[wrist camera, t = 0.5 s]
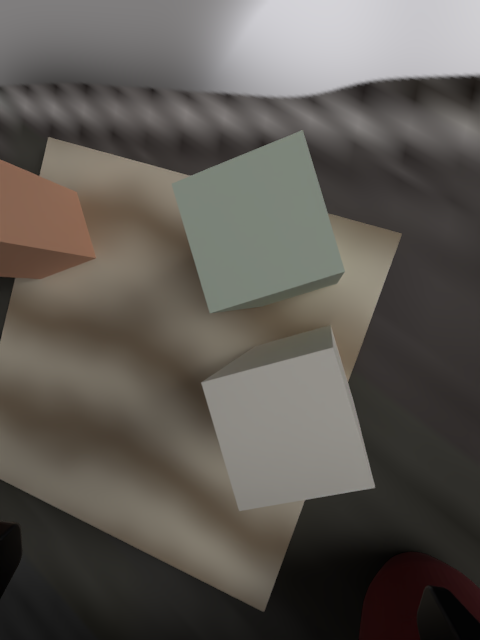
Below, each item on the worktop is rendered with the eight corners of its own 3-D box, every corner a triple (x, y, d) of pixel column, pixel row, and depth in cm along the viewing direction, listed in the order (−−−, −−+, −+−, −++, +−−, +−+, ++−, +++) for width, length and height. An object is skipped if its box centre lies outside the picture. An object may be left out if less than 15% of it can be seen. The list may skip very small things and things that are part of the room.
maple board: (266, 599, 24) (263, 612, 23) (-17, 458, 29) (-29, 464, 28) (398, 236, 21) (402, 233, 20) (59, 143, 26) (48, 137, 25)
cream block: (353, 401, 21) (375, 487, 12) (277, 418, 22) (239, 511, 13) (330, 324, 21) (333, 347, 12) (255, 345, 22) (201, 382, 13)
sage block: (336, 283, 21) (345, 271, 11) (261, 306, 22) (209, 313, 12) (314, 207, 21) (302, 130, 11) (239, 233, 22) (171, 183, 13)
